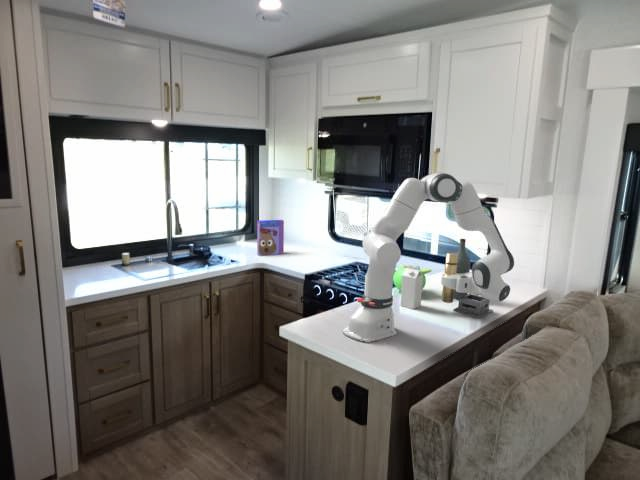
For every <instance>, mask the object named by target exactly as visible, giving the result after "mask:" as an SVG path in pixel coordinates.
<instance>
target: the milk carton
mask: <svg viewBox="0 0 640 480" xmlns="http://www.w3.org/2000/svg"><path fill="white" fill-rule="evenodd" d="M411 266H412V265H408V266H406V269H405V271H404V273H403V275H402V286H401V291H400V303H399V306H400V307H405V308H409V309H412V310H415V309H416V308H418V307H420V306H421V305H422V294H423V293H422V292H423V289H422V281H423V275H422V273H421V271H420V269H421V268H416V266H413V267H411Z"/></svg>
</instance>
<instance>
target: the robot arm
mask: <svg viewBox="0 0 640 480" xmlns="http://www.w3.org/2000/svg"><path fill="white" fill-rule="evenodd" d="M427 200H431V201H433V202H441V203H448V204H449V205H450V208H451V210H452V213H453V216H454V220H455V222H456V224H457V226H458V227H459V228H461V229H462V230H465V231H468V232H477V231H478V232H480V233H482V234H483V236H484V238H485V241H486V242H487V244H488V246H489V248H490V253H488V254H487V255H485V256H484V257H482V258H479V259H478V260H476V261H475V262H474V263H473V264H472V265H471V266H472V267H471V271H469V272H468V273H456V274H454V275H447V274H444V273H442V276H441V280H440V282H441V285H442V286H443V285H444V286H446V287H448V288H451V289H454V290H456V292H459V293H468V294H469V293H470V294H474V295H478V296H482V297H483V298H486V299H488V300H490V301H493V302H499V303H500V302H503V301H505V300H506V299H507V298H508V297H509V295H510V294H511V293H510V292H511V286H510V285H509V284H508V283H506V282H505V281H504V279H503V278H502V275H505V274H506V273H508V272H510V271H512V270H513V268H514V266H515V258H514V256H513V254H512V253H511V252H510V250H509V249H508V247H507V245H506V243H505V241H504V239H503V237H502V235H501V233H500V231H499V228H498V227H497V225H496V223H495V221H494V219H493V218H492V217H491V216H490V215H489V214H487V213H486V211H485V210H484V208H483V205H482V203H481V200H480V198H479V195H478V193H477V191H476V189H475V187H474V185H473V184H472V183H470V181H469V182H468V181H458V179H456V178H455V177H454V176H453V175H451V174H450V173H445V172H432V173H428V174H426V175H424V176H423V177H421V178H420V179H417V178H416V177H408V178H406V179H404V180H403V182H402V183H401V184H400V186H399V187H398V188H397V190H396V191H395V193H394V194H393V196H392V197H391V199H390V202H389V203H388V205H387V207H386V208H385V210H384V212H383V214H382V216H381V217H380V219H379V220H378V221H377V222H376V223H375V224H374V226H373V227H372V229H371V230H370V231H369V232H368V233H367V234H365V236H364V237H363V239H362V248H363V251H364V253H365V254H366V256H368V258H369V262H368V268H367V270H366V271H367V272H366V273H365V276H364V279H365V280H364V293H363V296H362V297H358V298H357V299H356V301H357V303H360V305H359V307H357V309H356V310H355V311H354V312H353V313H352V315H351V316H350V318H349V320H348V325H347V326H346V327H345V328H343V329H342V331H341V332H342V334H343V333H344V334H343V335H345V336H346V335H347V336H346V337H348V336H349V337H348V338H350V337H351V338H350V339H352V338H354V339H353V340H355V339H357V340H356V341H358V340H360V341H359V342H362V341H365V342H364V343H372V342H375V340H376V341H379V340H382V339H385V338H391V337H393V336H396V335H397V331H396V330H395V316H394V315H395V313H394V311H393V305H394V296H393V286H394V285H393V284H394V281H393V276H394V273H395V272H396V269H397V268H396V267H397V264H398V262H399V261H400V259H401V256H402V251H401V249H400V247H399V245H398V243H397V242H396V241H397V239H398V238H399V237H400V236H401V235H402V234H403V233H404V232H406V231H407V230H408V229H409V227H410V225H411V224H412V221H413V220H414V218H415V216H416V215H417V213H418V210H420V207H421V205H422V204H423V203H424V202H425V201H427ZM371 341H372V342H371Z"/></svg>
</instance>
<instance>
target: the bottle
mask: <svg viewBox="0 0 640 480" xmlns="http://www.w3.org/2000/svg"><path fill="white" fill-rule="evenodd" d="M466 241H467V240H466V239H465V238H459V246H458V247H459V248H458V251H457V252H455V253H456V254H458V260H457V269H456V273H468V272H471V259H470V258H469V255H468V254H467V251H466ZM467 294H469V293H459V292H456V290H454V298H453V300H456V301H457V300H458V301H459V298H460V297H462V296H465V295H467Z"/></svg>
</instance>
